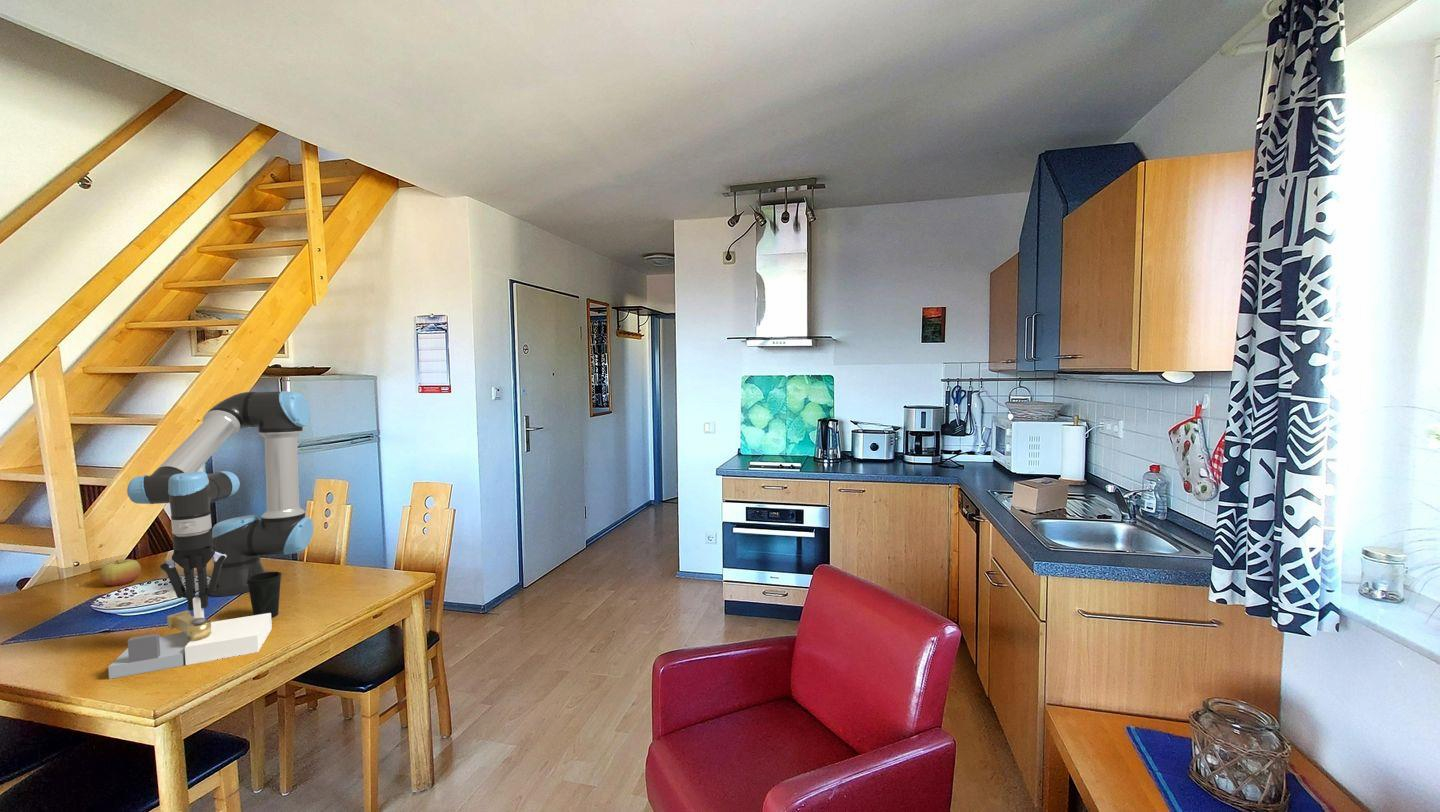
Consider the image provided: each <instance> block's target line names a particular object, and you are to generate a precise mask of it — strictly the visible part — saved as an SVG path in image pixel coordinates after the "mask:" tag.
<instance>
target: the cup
mask: <svg viewBox="0 0 1440 812" xmlns="http://www.w3.org/2000/svg"><path fill="white" fill-rule="evenodd" d="M281 579H282V573H281V572H279V571H267V572H265V573H260V574H256V575H253V576H251V577H249V578H248V579H247V581H248V587H249V592H248V593H249V598H250V604H251V609H252V614H253V615H260V614H266V613H271V619H272V618H275V617H277V616H278V615H279V609H280V596H281V595H280V591H281V582H282V581H281ZM253 615H252V616H253Z"/></svg>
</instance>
